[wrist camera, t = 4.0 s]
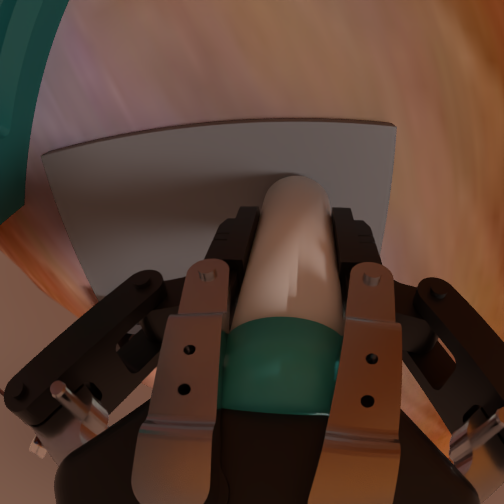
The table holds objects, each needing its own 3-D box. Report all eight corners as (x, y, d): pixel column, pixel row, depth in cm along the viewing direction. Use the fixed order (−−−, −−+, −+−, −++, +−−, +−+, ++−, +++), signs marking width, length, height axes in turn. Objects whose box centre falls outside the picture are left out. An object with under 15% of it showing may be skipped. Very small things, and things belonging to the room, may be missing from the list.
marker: (258, 173, 13) (185, 391, 5) (333, 174, 12) (369, 403, 4) (263, 235, 15) (217, 444, 7) (329, 236, 14) (339, 452, 6)
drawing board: (49, 151, 15) (16, 171, 12) (391, 123, 11) (413, 140, 9) (137, 356, 26) (126, 382, 24) (344, 376, 23) (344, 407, 21)
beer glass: (38, 419, 80) (25, 448, 68) (46, 422, 78) (32, 452, 66) (51, 428, 84) (38, 456, 72) (59, 431, 81) (46, 461, 69)
